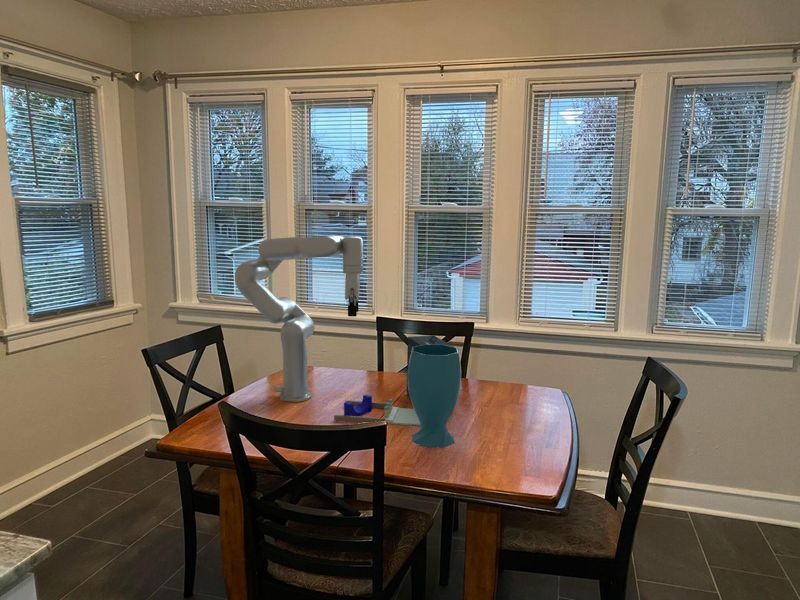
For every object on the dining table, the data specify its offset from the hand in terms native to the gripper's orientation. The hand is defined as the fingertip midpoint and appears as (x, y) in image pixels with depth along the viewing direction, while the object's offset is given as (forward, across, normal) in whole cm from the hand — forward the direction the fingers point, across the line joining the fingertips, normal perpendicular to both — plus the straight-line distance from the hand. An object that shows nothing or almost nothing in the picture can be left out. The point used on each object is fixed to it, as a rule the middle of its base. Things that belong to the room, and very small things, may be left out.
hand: (353, 314), depth 211 cm
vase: (+35, +36, +29) cm, 58 cm away
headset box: (+35, -3, +30) cm, 46 cm away
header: (+35, +15, +12) cm, 40 cm away
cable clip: (+35, +13, +2) cm, 38 cm away
